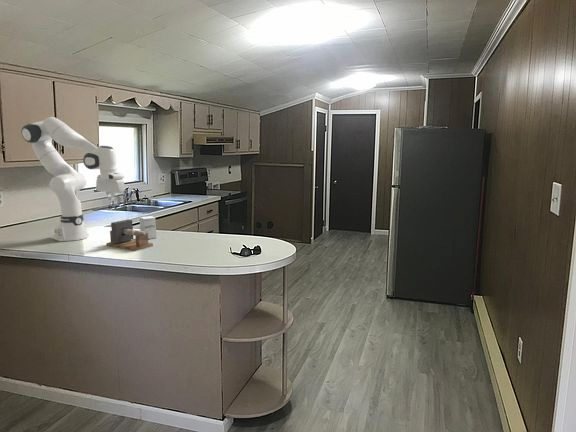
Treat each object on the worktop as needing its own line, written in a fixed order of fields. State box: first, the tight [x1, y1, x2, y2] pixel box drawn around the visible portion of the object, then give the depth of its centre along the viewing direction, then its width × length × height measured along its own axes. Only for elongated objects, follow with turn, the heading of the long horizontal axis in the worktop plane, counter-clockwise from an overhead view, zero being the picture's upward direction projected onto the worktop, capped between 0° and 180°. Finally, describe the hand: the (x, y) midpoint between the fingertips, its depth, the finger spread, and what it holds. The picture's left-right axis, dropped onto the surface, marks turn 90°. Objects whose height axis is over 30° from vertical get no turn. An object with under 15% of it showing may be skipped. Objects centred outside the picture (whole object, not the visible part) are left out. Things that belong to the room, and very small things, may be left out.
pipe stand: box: [105, 228, 154, 252], centre depth 254 cm, size 24×12×10 cm, turn 58°
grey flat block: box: [110, 218, 135, 243], centre depth 256 cm, size 4×11×11 cm, turn 148°
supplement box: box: [139, 215, 158, 240], centre depth 273 cm, size 7×7×13 cm
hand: (111, 199), depth 257 cm, fingers closed
